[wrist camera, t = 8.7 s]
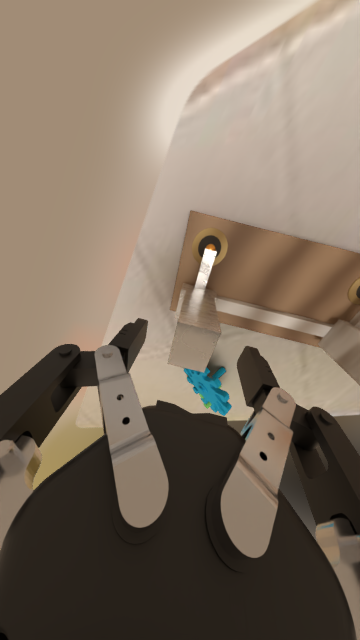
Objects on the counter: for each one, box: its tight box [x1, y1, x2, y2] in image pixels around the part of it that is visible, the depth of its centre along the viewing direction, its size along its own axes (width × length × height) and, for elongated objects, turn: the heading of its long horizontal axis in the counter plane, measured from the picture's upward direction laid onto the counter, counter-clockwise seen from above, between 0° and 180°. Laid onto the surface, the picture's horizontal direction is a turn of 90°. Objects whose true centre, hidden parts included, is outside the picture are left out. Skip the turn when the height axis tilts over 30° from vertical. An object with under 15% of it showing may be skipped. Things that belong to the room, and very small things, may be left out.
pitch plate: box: [170, 211, 360, 385], centre depth 17 cm, size 24×12×10 cm, turn 78°
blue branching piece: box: [184, 367, 232, 416], centre depth 28 cm, size 11×6×10 cm
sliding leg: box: [167, 244, 221, 373], centre depth 15 cm, size 4×8×10 cm, turn 168°
